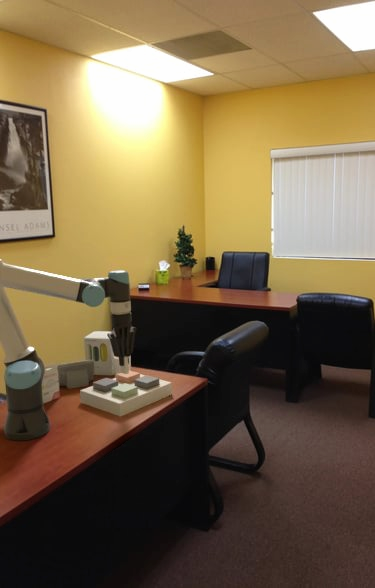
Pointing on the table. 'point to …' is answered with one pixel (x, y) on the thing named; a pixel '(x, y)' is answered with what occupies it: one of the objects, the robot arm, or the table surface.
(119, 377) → the key terracotta
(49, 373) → the ink cartridge box
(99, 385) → the charcoal key
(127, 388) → the key green
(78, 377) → the digital clock
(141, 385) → the charcoal key
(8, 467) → the table surface
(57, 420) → the table surface
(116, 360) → the white cup
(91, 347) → the supplement box
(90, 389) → the keypad
